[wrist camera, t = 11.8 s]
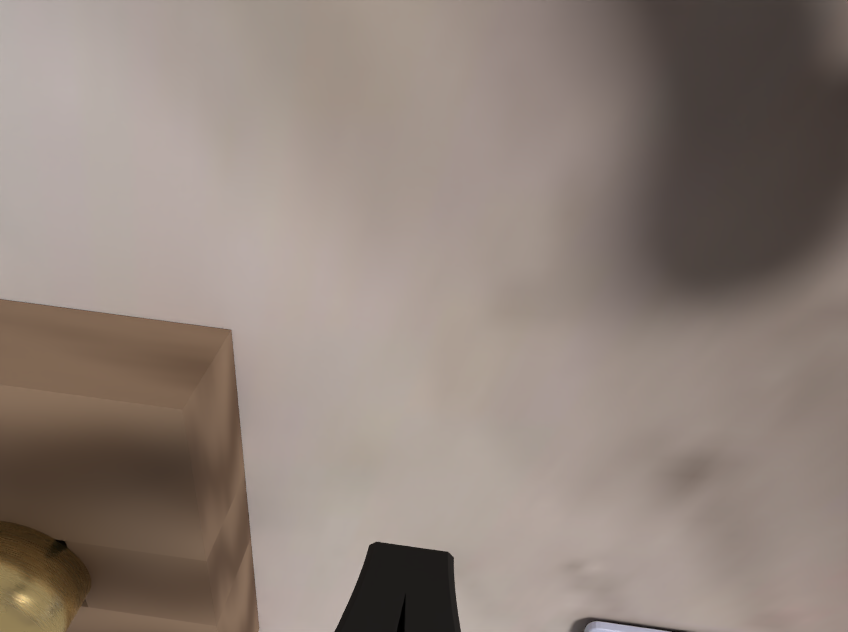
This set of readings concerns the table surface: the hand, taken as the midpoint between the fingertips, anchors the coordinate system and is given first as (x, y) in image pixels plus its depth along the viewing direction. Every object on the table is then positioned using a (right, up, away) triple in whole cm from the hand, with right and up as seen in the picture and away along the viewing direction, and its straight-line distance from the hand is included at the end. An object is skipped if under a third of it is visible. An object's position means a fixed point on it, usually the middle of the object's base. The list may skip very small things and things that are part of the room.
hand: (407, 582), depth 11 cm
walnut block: (-14, -2, +16) cm, 21 cm away
